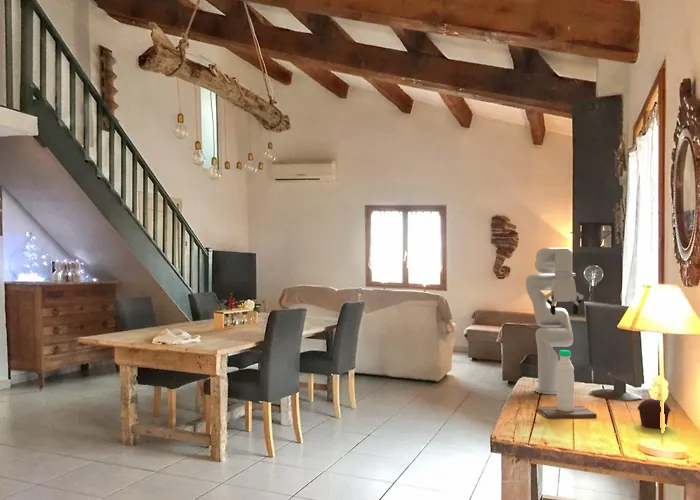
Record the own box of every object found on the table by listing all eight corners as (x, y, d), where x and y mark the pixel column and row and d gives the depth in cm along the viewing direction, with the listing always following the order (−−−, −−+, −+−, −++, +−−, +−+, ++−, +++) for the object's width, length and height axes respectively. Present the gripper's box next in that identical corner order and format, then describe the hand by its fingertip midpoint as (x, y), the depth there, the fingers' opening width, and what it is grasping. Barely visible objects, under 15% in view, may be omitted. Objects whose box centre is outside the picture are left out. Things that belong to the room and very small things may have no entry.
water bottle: (572, 408, 260) (571, 349, 261) (576, 412, 253) (575, 351, 254) (555, 408, 261) (554, 349, 261) (559, 412, 254) (558, 351, 254)
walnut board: (536, 410, 264) (536, 406, 264) (583, 409, 264) (582, 405, 264) (547, 418, 250) (547, 414, 250) (596, 417, 250) (596, 414, 250)
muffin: (647, 430, 232) (647, 403, 232) (631, 422, 243) (631, 397, 243) (677, 429, 233) (677, 402, 233) (660, 421, 244) (659, 396, 244)
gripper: (579, 275, 276) (580, 313, 276) (541, 275, 276) (542, 314, 275) (586, 275, 269) (586, 315, 268) (547, 276, 268) (547, 315, 268)
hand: (564, 314), depth 272 cm, fingers open, 9 cm apart
